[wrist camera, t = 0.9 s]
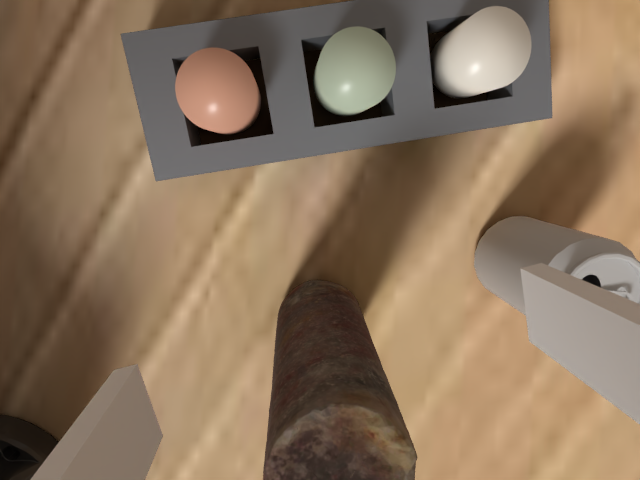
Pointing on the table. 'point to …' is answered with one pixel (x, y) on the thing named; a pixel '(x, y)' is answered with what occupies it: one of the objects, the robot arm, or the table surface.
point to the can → (552, 258)
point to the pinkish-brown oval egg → (218, 91)
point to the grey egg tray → (292, 87)
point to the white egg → (481, 53)
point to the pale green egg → (354, 71)
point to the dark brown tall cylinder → (331, 395)
